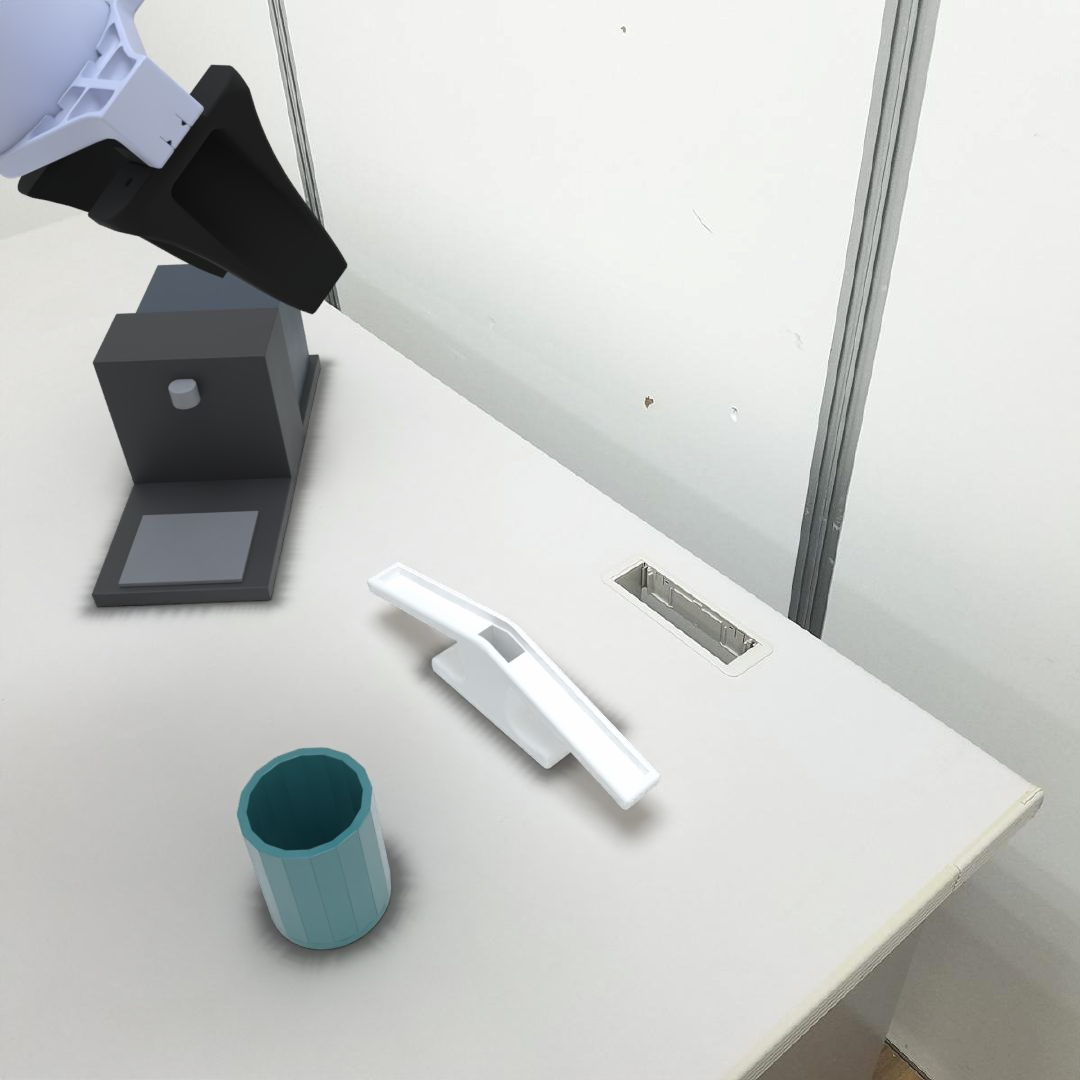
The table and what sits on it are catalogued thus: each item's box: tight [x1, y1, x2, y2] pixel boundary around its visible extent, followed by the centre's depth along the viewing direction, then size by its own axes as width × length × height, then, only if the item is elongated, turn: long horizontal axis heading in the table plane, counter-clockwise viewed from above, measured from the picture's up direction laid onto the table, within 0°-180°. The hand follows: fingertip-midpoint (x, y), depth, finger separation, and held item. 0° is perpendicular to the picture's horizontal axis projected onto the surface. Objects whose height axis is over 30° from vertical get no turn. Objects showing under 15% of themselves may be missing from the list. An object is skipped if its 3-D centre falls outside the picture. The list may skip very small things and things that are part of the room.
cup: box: [236, 746, 392, 950], centre depth 49 cm, size 5×5×7 cm
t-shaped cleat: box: [366, 561, 662, 811], centre depth 57 cm, size 4×20×5 cm, turn 42°
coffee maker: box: [91, 263, 322, 607], centre depth 71 cm, size 24×10×10 cm, turn 2°
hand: (277, 270), depth 40 cm, fingers open, 7 cm apart
